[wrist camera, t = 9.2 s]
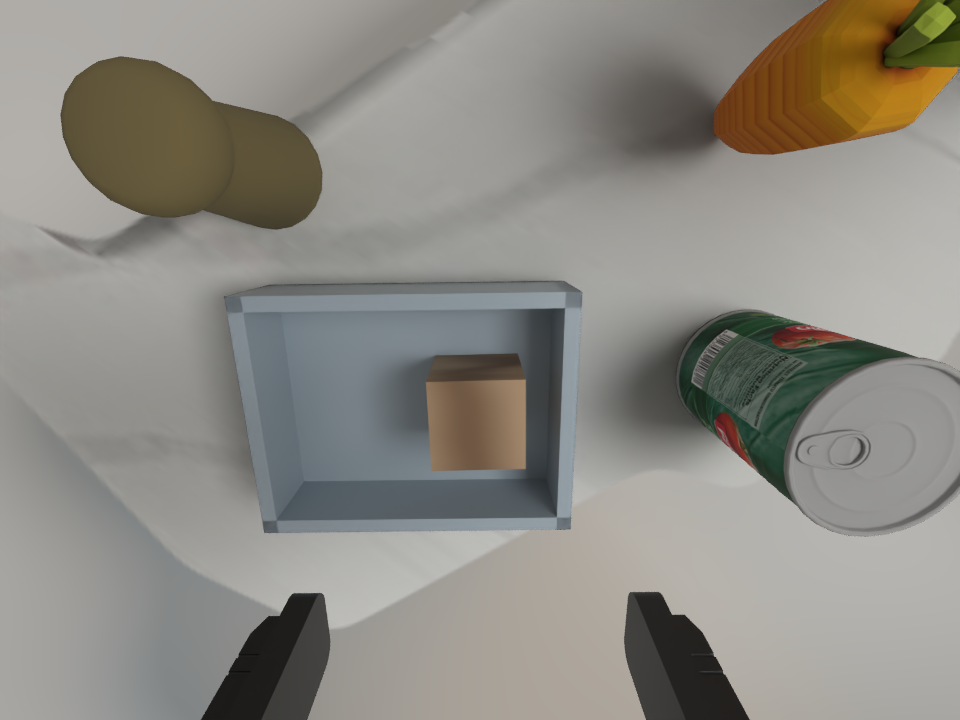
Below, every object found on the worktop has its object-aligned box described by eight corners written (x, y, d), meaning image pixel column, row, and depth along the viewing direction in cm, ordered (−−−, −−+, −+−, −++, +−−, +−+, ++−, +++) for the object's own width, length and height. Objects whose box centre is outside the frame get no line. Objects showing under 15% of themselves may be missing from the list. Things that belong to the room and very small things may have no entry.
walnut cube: (517, 353, 27) (525, 379, 23) (517, 429, 29) (525, 468, 24) (435, 355, 27) (425, 381, 23) (439, 431, 29) (431, 471, 24)
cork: (194, 137, 25) (-19, 67, 14) (293, 96, 24) (150, -8, 14) (245, 244, 26) (87, 253, 16) (339, 208, 26) (242, 193, 15)
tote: (563, 280, 27) (582, 291, 22) (556, 482, 31) (570, 529, 26) (269, 284, 27) (224, 296, 22) (298, 485, 31) (264, 532, 26)
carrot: (661, 164, 25) (905, 77, 11) (691, 65, 24) (1016, -187, 9) (745, 185, 25) (1091, 126, 11) (780, 88, 24) (1226, -124, 10)
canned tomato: (813, 310, 27) (1022, 360, 17) (786, 429, 30) (957, 539, 19) (683, 308, 27) (811, 356, 17) (666, 427, 30) (770, 536, 19)
